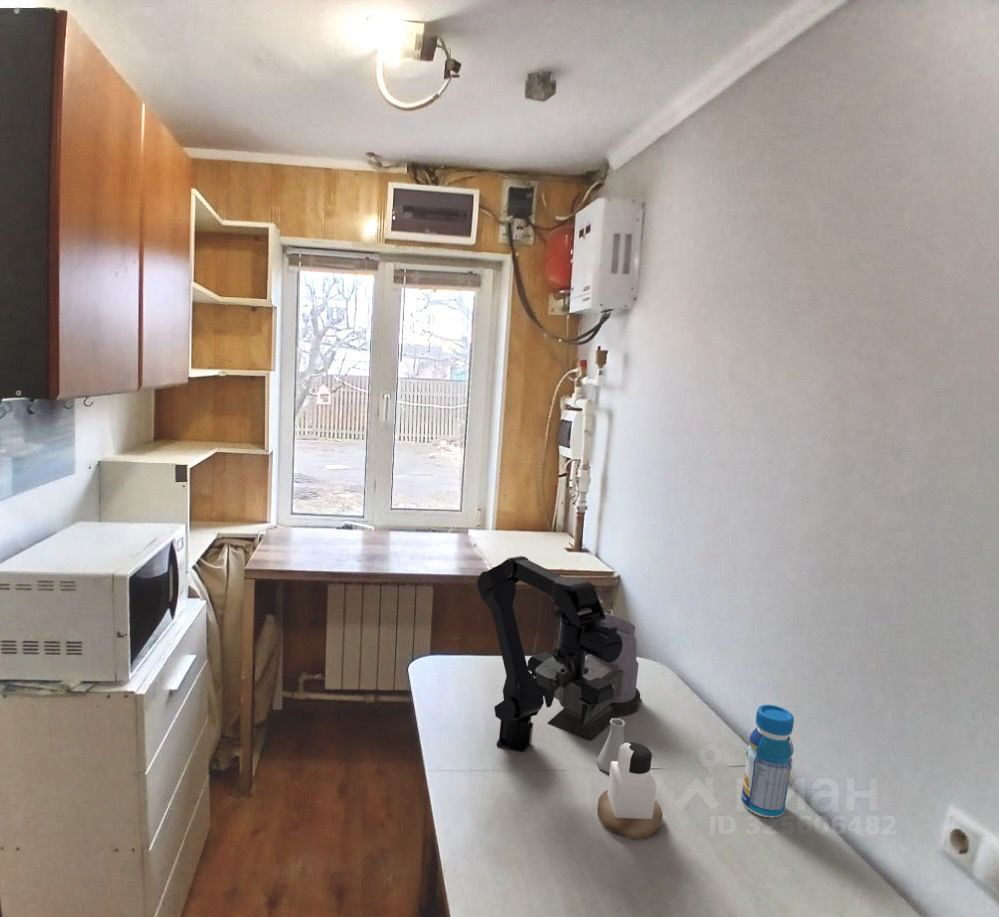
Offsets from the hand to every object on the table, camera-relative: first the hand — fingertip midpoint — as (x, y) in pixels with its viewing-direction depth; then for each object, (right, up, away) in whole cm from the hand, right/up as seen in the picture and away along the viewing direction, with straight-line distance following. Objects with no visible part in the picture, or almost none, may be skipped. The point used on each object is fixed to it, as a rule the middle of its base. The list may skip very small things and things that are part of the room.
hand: (565, 716), depth 138 cm
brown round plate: (+11, -15, -10) cm, 21 cm away
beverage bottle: (+39, -17, -3) cm, 43 cm away
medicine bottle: (+11, -14, -10) cm, 20 cm away
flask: (+11, -13, +7) cm, 18 cm away
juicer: (+11, -10, +31) cm, 34 cm away
